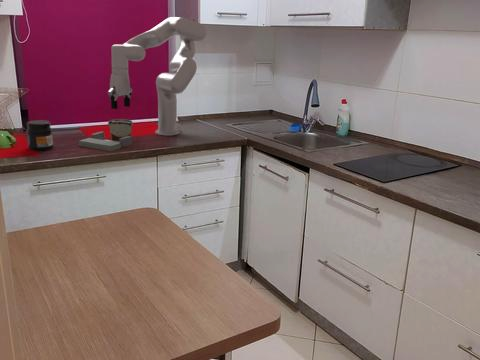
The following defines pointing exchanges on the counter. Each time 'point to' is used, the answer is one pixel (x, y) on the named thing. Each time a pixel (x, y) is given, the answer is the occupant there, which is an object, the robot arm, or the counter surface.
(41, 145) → the supplement container
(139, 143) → the counter surface
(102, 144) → the grey piece
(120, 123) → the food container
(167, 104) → the robot arm
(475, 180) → the counter surface
